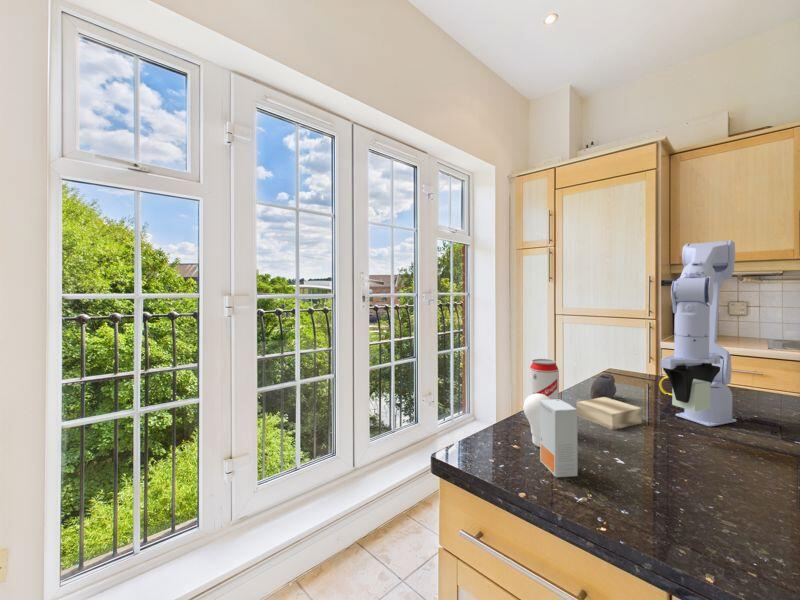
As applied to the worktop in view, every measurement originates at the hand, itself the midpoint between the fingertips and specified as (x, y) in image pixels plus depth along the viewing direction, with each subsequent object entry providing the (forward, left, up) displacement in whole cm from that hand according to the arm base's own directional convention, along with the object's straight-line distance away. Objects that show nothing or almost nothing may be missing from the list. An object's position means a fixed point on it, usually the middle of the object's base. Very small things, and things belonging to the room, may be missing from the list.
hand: (690, 399), depth 77 cm
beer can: (+24, -16, -9) cm, 30 cm away
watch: (-29, -25, -9) cm, 39 cm away
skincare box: (+34, 0, -9) cm, 35 cm away
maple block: (+5, -16, -9) cm, 19 cm away
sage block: (0, 0, -1) cm, 1 cm away
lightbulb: (+31, -9, -9) cm, 34 cm away
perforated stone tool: (-5, -27, -9) cm, 29 cm away
